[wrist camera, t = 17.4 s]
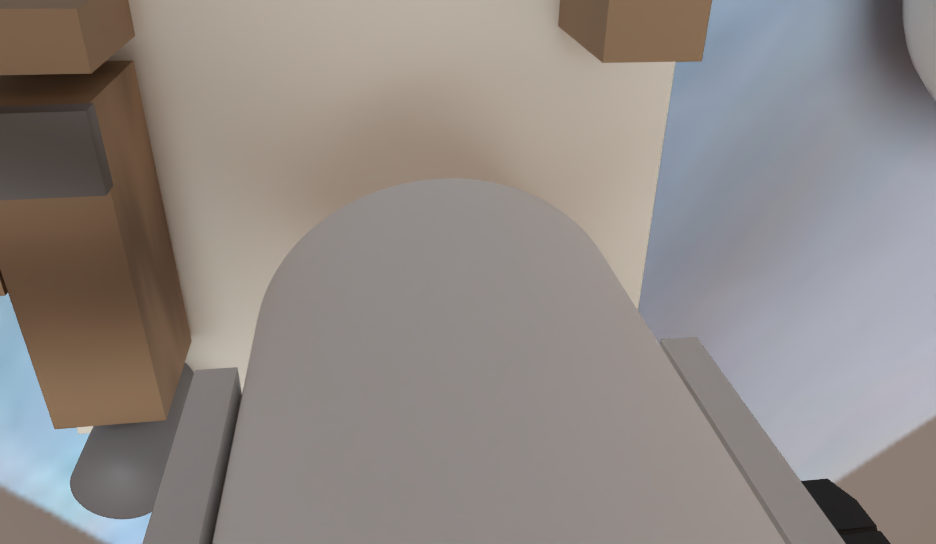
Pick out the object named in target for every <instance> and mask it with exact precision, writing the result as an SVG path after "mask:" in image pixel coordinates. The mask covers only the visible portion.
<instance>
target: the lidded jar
mask: <svg viewBox="0 0 936 544" xmlns="http://www.w3.org/2000/svg"><path fill="white" fill-rule="evenodd" d="M903 24H904V31H905V38H906V43H907V48H908V51H909V54H910V57H911V60H912V63H913V66H914V68H915V69H916V71H917V73H918V75H919V76H920V78H921V80H922V81H923V83H924V85H925V86H926V88H927V90H928V91H929V93H930V95H931V96H932V97H933V98H934V100H935V101H936V0H903Z"/></svg>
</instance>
